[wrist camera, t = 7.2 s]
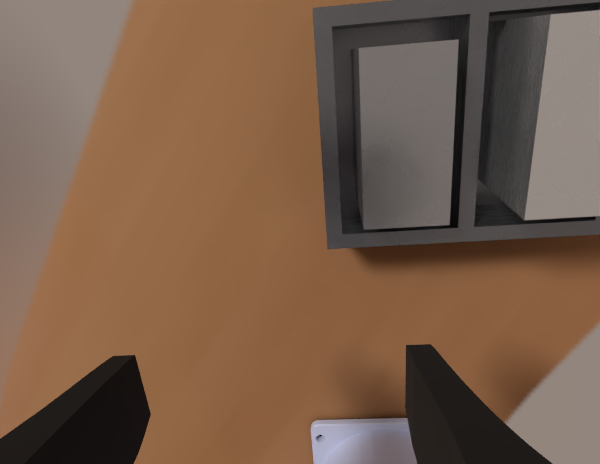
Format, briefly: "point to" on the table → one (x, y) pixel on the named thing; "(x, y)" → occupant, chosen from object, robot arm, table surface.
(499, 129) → the grey block
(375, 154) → the rack
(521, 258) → the table surface
